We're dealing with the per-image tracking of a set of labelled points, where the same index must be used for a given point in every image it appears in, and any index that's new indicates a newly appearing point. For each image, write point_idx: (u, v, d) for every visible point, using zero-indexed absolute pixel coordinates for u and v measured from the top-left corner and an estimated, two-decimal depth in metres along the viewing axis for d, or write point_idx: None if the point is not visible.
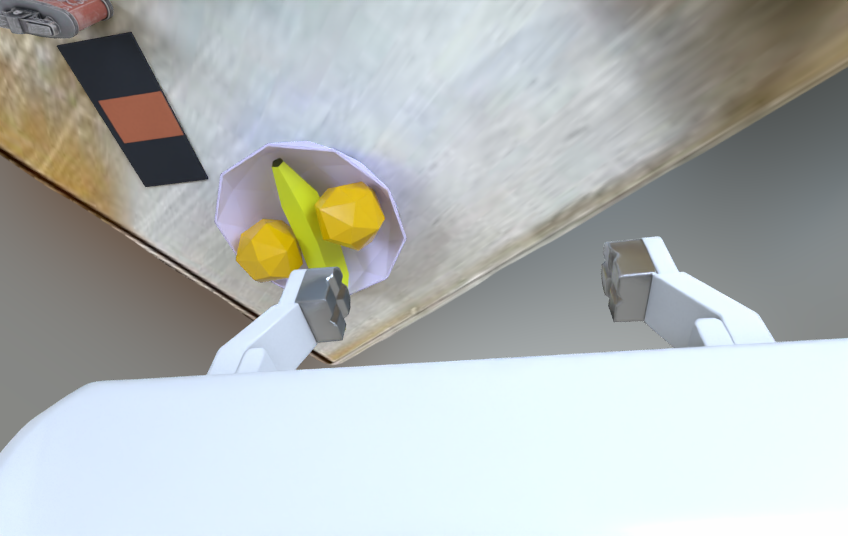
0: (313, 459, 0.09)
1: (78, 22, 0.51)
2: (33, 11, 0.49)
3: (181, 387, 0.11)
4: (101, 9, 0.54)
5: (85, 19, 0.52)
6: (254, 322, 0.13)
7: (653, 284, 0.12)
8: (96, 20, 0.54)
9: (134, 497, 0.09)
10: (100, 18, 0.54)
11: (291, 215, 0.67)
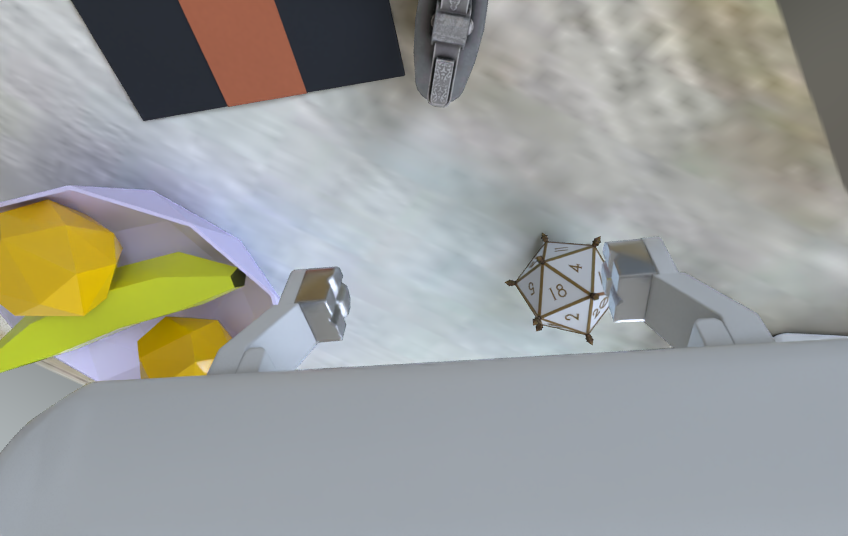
0: (313, 460, 0.09)
1: None
2: None
3: (182, 387, 0.11)
4: None
5: None
6: (254, 322, 0.13)
7: (653, 284, 0.12)
8: None
9: (134, 497, 0.09)
10: None
11: (152, 292, 0.41)
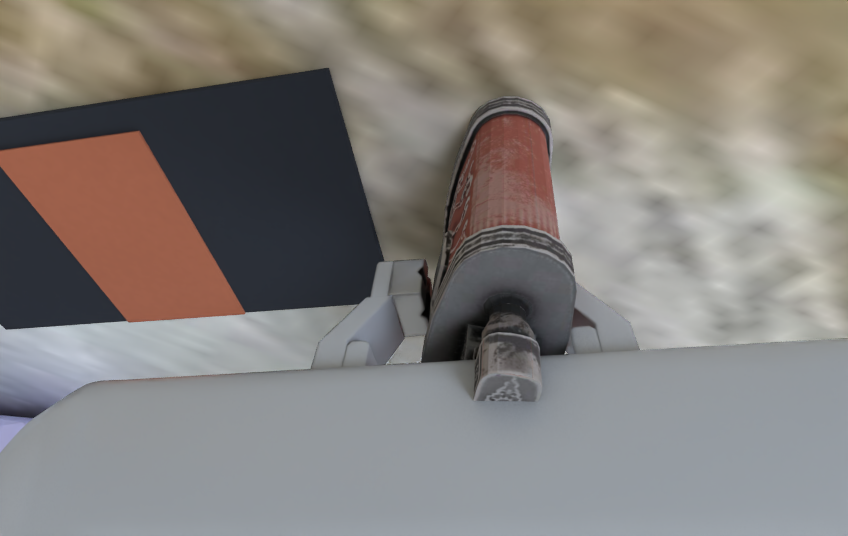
0: (313, 460, 0.09)
1: None
2: None
3: (181, 387, 0.11)
4: None
5: None
6: (350, 315, 0.13)
7: None
8: None
9: (134, 497, 0.09)
10: None
11: None
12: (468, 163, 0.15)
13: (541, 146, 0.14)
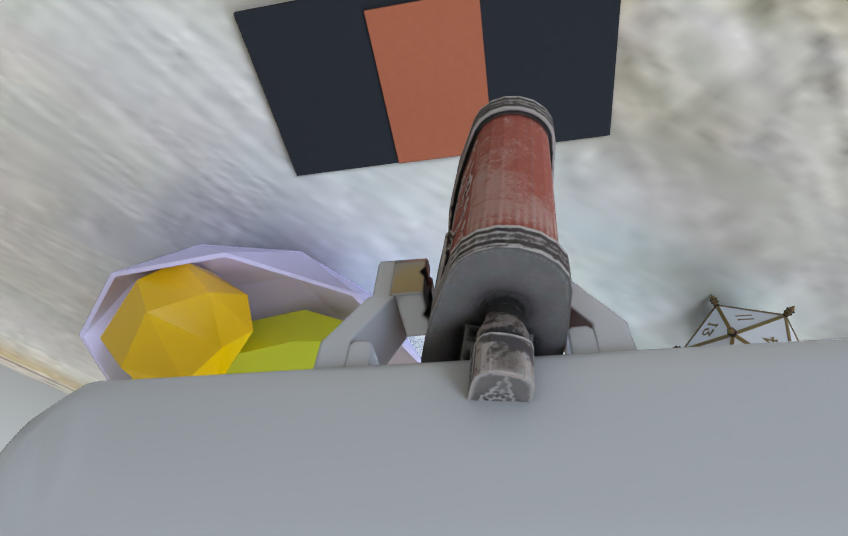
0: (313, 459, 0.09)
1: None
2: None
3: (182, 387, 0.11)
4: None
5: None
6: (352, 315, 0.13)
7: None
8: None
9: (133, 496, 0.09)
10: None
11: (282, 357, 0.37)
12: (470, 163, 0.15)
13: (542, 145, 0.14)
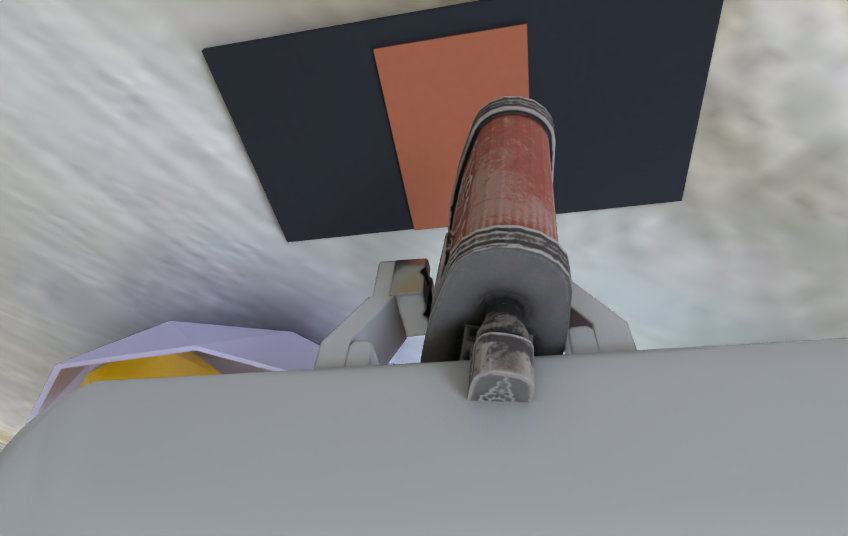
0: (313, 460, 0.09)
1: None
2: None
3: (181, 387, 0.11)
4: None
5: None
6: (352, 315, 0.13)
7: None
8: None
9: (133, 496, 0.09)
10: None
11: None
12: (470, 163, 0.15)
13: (542, 145, 0.14)
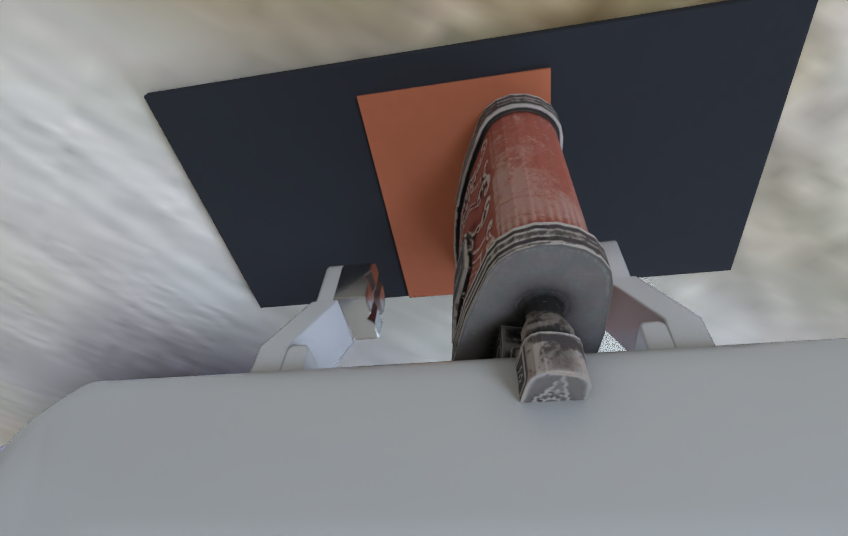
0: (313, 459, 0.09)
1: None
2: None
3: (181, 387, 0.11)
4: None
5: None
6: (294, 319, 0.13)
7: None
8: None
9: (134, 497, 0.09)
10: None
11: None
12: (480, 163, 0.15)
13: (555, 141, 0.13)
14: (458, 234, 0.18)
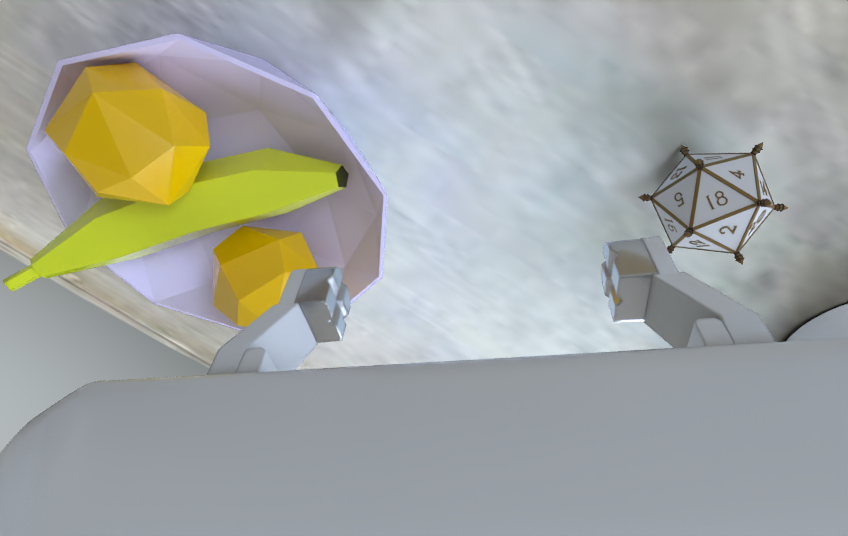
0: (313, 460, 0.09)
1: None
2: None
3: (181, 387, 0.11)
4: None
5: None
6: (254, 322, 0.13)
7: (653, 284, 0.12)
8: None
9: (134, 496, 0.09)
10: None
11: (241, 189, 0.36)
12: None
13: None
14: None
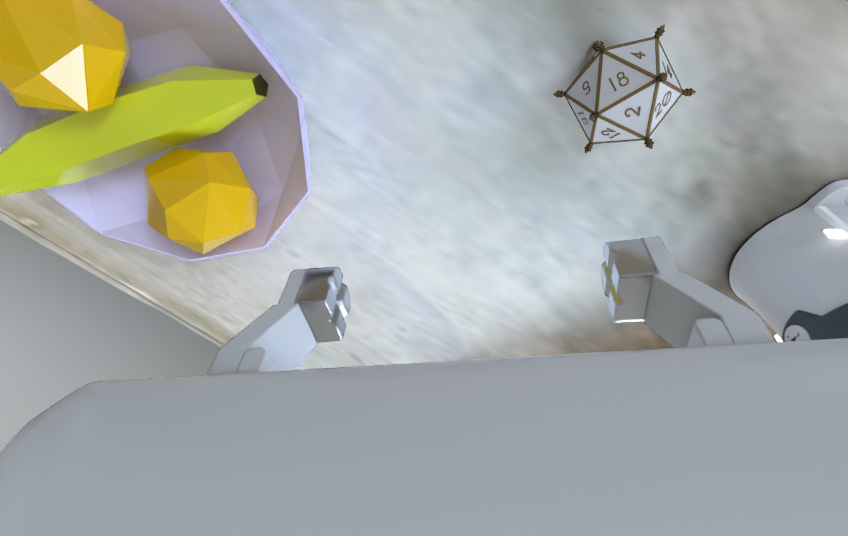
0: (313, 460, 0.09)
1: None
2: None
3: (182, 387, 0.11)
4: None
5: None
6: (254, 322, 0.13)
7: (653, 284, 0.12)
8: None
9: (134, 497, 0.09)
10: None
11: (163, 101, 0.37)
12: None
13: None
14: None
